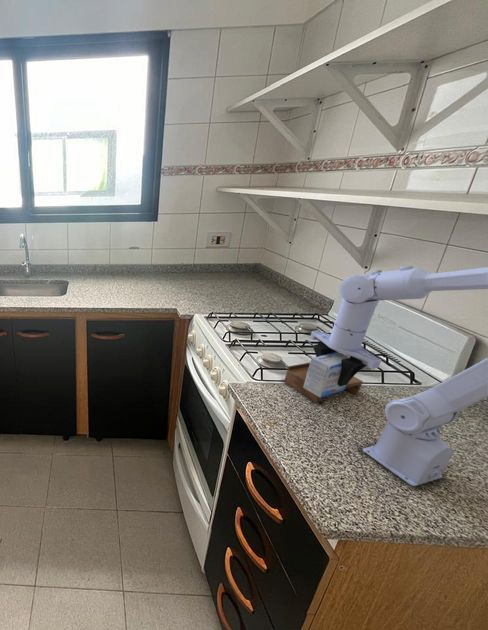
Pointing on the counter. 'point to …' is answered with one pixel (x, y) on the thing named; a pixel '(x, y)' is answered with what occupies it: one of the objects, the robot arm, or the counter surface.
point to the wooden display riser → (298, 376)
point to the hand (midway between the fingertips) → (331, 378)
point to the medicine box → (325, 374)
